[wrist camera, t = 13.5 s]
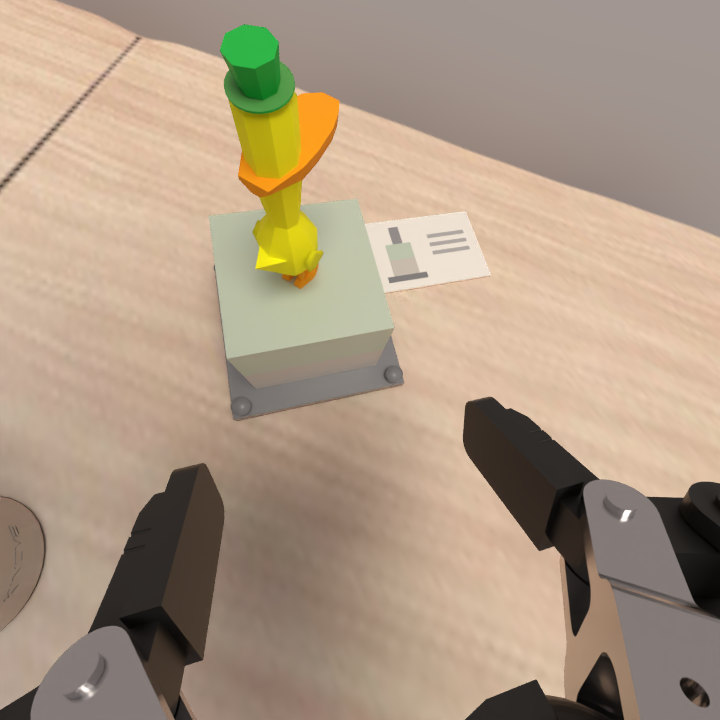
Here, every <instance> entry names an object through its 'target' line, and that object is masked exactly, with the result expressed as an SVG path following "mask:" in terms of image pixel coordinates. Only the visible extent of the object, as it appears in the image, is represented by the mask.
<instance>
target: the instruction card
mask: <svg viewBox="0 0 720 720" xmlns="http://www.w3.org/2000/svg"><path fill="white" fill-rule="evenodd" d="M365 227H366V230H367V234H368V237H369V241H370V244H371V248H372V251H373V255H374V258H375V262H376V265H377V269H378V272H379V276H380V279H381V282H382V286H383V289H384V293H385V294H386V293H392V292H398V291H404V290H410V289H416V288H422V287H428V286H434V285H440V284H446V283H452V282H458V281H464V280H470V279H476V278H482V277H489V276H491V273H490V271H489V268H488V266H487V263H486V261H485V258H484V256H483V253H482V251H481V248H480V246H479V243H478V241H477V238H476V236H475V233H474V231H473V228H472V226H471V223H470V221H469V218H468V216H467V213H466V211H462V212H454V213H446V214H439V215H431V216H423V217H415V218H407V219H400V220H392V221H384V222H376V223H368V224H365Z"/></svg>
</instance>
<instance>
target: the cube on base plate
mask: <svg viewBox="0 0 720 720" xmlns="http://www.w3.org/2000/svg"><path fill="white" fill-rule="evenodd" d="M300 211H302V212H304V213H305V214H306V216H307V217H308V218H309V219H310V220H311V222H312V223H313V224H314V225H315V226H316V228H317V238H318V250H322V251H323V255H322V257H321V259H320V261H319V265H318V270H317V273H316V276H315V277H314V278H313V279H312V280H311V281H310V282H309V283H308V284H306V285H305V286H304V287H303V288H302V289H300V288H298V287H296V286H295V285H294V282H295V280H296V278H297V276H298V275H297V276H294V277H293V278H292V279H291V280H290V281H287V280H285V279H283V278H282V275H283V274H281V273H276V272H271V271H265V270H258V269H255V267H256V262H257V257H258V252H259V245H258V243H257V241H256V239H255V237H254V235H253V233H252V231H253V229H254V227H255V225H256V222H257V220H260V221H261V219H262V218H263V217H264V216H265V215H266V212H265V210H264V209H263V210H254V211H246V212H237V213H228V214H220V215H211V216H209V222H210V230H211V238H212V246H213V254H214V262H215V265H214V271H215V275H216V283H217V291H218V299H219V307H220V315H221V323H222V331H223V339H224V347H225V355H226V363H227V371H228V379H229V387H230V395H231V403H232V404H231V409H232V412H233V419H234V420H236V421H239V420H244V419H248V418H253V417H258V416H262V415H267V414H271V413H276V412H281V411H285V410H290V409H295V408H299V407H304V406H308V405H313V404H318V403H322V402H327V401H332V400H336V399H341V398H346V397H350V396H355V395H359V394H364V393H369V392H373V391H378V390H383V389H387V388H392V387H396V386H401V385H402V384H403V383H404V380H403V377H402V376H403V372H402V370H401V368H400V366H399V362H398V359H397V355H396V352H395V348H394V345H393V341H392V337H391V334H392V332H393V330H394V324H393V321H392V317H391V314H390V310H389V307H388V303H387V300H386V296H385V293H384V289H383V286H382V282H381V279H380V276H379V272H378V269H377V265H376V262H375V258H374V255H373V251H372V248H371V244H370V241H369V237H368V234H367V230H366V227H365V223H364V220H363V216H362V213H361V209H360V206H359V202H358V199H351V200H342V201H333V202H324V203H316V204H307V205H301V206H300Z"/></svg>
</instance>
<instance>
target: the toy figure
mask: <svg viewBox="0 0 720 720" xmlns="http://www.w3.org/2000/svg"><path fill="white" fill-rule="evenodd" d="M220 52H221V54H222V56H223V58H224V60H225V62H226V64H227V66H228V68H229V71H228V72H227V74H226V77H225V79H224V89H225V93H226V95H227V97H228V99H229V103H230V107H231V111H232V114H233V118H234V122H235V125H236V129H237V133H238V137H239V140H240V144H241V148H242V154H241V161H240V167H239V173H238V177H239V180H240V181H241V182H242V183H243V184H244V185H245V186H246V187H247V188H248V189H249V190H250V191H251V192H252V193H253V194H255V195H257V196H258V197H259V198H260V200H261V203H262V205H263V207H264V210H265V212H266V215H265V216H264V217H263V218H262V219H261V221H260V220H257V222H256V225H255V227H254V229H253V231H252V233H253V235H254V237H255V239H256V241H257V243H258V245H259V252H258V257H257V262H256V267H255V269H258V270H265V271H271V272H276V273H281V274H283V275H282V278H283V279H285V280H287V281H290V280H291V279H292V278H293V277H294V276H297V275H298V276H297V278H296V280H295V282H294V285H295V286H296V287H298V288H300V289H302V288H303V287H304V286H305V285H306V284H308V283H309V282H310V281H311V280H312V279H313V278H314V277H315V276H316V273H317V270H318V265H319V261H320V259H321V257H322V255H323V251H322V250H318V238H317V228H316V226H315V225H314V224H313V223H312V222H311V220H310V219H309V218H308V217H307V216H306V214H305V213H304V212H302V211H300V206H301V188H302V180H303V179H304V178H305V176H306V175H307V174H308V173H309V172H310V171H311V170H312V168H313V167H314V166H315V165H316V164H317V163H318V161H319V159H320V158H321V156H322V155H323V153H324V152H325V150H326V149H327V147H328V146H329V144H330V143H331V141H332V139H333V136H334V133H335V130H336V127H337V121H338V113H339V100H337V99H335V98H333V97H331V96H329V95H327V94H325V93H323V92H322V93H305V94H301V95H299V96H297V94H296V93H295V92H294V90H295V81H294V77H293V74H292V73H291V71H290V69H289V68H288V67H287V66H286V65H285V64H283V63H281V62H280V61H279V43H278V41H277V40H276V39H275V37H274V36H273V35H272V34H271V33H270V32H269V30H268V29H267V28H264V27H258V26H252V25H245V24H244V25H242V26H240V27H238V28H236V29H234V30H232V31H230V32H227V33H225V36H224V39H223V42H222V45H221V49H220Z"/></svg>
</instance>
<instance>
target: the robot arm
mask: <svg viewBox="0 0 720 720" xmlns="http://www.w3.org/2000/svg"><path fill="white" fill-rule="evenodd" d="M463 443H464V447H465V450H466V452H467V454H468V456H469V458H470V459H471V460H472V462H473V463H474V464H475V466H476V467H477V468H478V470H479V471H480V472H481V474H482V475H483V476H484V478H485V479H486V480H487V482H488V483H489V485H490V486H491V487H492V489H493V490H494V491H495V493H496V494H497V495H498V497H499V498H500V499H501V501H502V502H503V503H504V505H505V506H506V507H507V509H508V510H509V511H510V513H511V514H512V515H513V517H514V518H515V519H516V521H517V522H518V523H519V525H520V526H521V527H522V529H523V530H524V531H525V533H526V534H527V536H528V537H529V538H530V540H531V541H532V542H533V544H534V545H535V546H536V548H537V549H538V550H539V551H541V550H544V549H547V548H550V547H553V546H555V548H556V549H557V550H558V551H559V553H560V554H561V557H560V572H561V583H562V594H563V605H564V616H565V627H566V639H567V648H566V658H565V668H564V687H565V698H560V697H555V696H550V695H545V694H544V693H543V691H542V689H541V687H540V685H539V683H538V681H537V680H533V681H531V682H528V683H526V684H523V685H521V686H518V687H516V688H513V689H511V690H508V691H506V692H504V693H501V694H499V695H496V696H494V697H491V698H489V699H486V700H485V701H484V702H483V703H482V704H481V705H480V706H479V707H478V708H477V709H476V710H475V711H474V712H473V713H472V714H471V715H469V716H468V717H467V718H466V719H465V720H720V484H719V483H714V482H698V483H695V484H693V485H692V486H691V487H690V488H689V490H688V492H687V493H686V495H685V497H684V498H670V497H645V496H644V495H643V494H642V493H640V492H639V491H637V490H635V489H634V488H632V487H630V486H627V485H625V484H622V483H620V482H616V481H612V480H600V479H599V478H597V477H596V476H595V475H594V474H593V473H591V472H590V471H589V470H588V469H587V468H586V467H585V466H583V465H582V464H581V463H580V462H579V461H578V460H577V459H575V458H574V457H573V456H572V455H571V454H570V453H569V452H567V451H566V450H565V449H564V448H563V447H562V446H561V445H559V444H558V443H557V442H556V441H555V440H552V439H551V437H550V436H549V435H548V434H547V433H546V432H544V431H543V430H542V431H541V429H540V427H539V426H538V425H536V424H535V423H534V422H533V421H532V420H531V419H530V418H528V417H527V416H525V415H523V414H521V413H519V412H517V411H515V410H513V409H511V408H510V409H505V408H504V407H503V406H502V405H501V404H500V403H499V402H498V401H497V400H495V399H494V398H493V397H486V398H481V399H477V400H473V401H469V402H467V403H466V406H465V416H464V430H463ZM223 525H224V506H223V501H222V498H221V496H220V494H219V492H218V489H217V487H216V485H215V483H214V480H213V478H212V476H211V474H210V472H209V469H208V467H207V466H206V464H204V463H201V464H197V465H193V466H188V467H184V468H180V469H176V470H174V471H173V472H172V474H171V476H170V479H169V481H168V484H167V487H166V490H165V492H162V493H158V494H155V495H154V496H153V497H152V498H151V499H150V501H149V502H148V503H147V504H146V506H145V507H144V508H143V509H142V510H141V512H140V513H139V515H138V517H137V520H136V522H135V525H134V527H133V529H132V532H131V537H129V539H128V541H127V544H126V546H125V548H124V554H123V555H121V558H120V560H119V562H118V565H117V567H116V570H115V572H114V574H113V577H112V579H111V581H110V584H109V586H108V589H107V591H106V593H105V596H104V598H103V600H102V603H101V605H100V608H99V610H98V612H97V615H96V617H95V619H94V622H93V624H92V626H91V628H90V630H89V632H88V634H87V635H86V636H84V637H82V638H81V639H80V640H78V641H77V642H76V643H74V644H73V645H72V646H71V647H70V648H69V649H68V650H66V651H65V652H64V653H63V655H62V656H61V657H60V658H59V659H58V660H57V661H56V662H55V664H54V665H53V666H52V667H51V669H50V670H49V671H48V673H47V674H46V676H45V677H44V679H43V681H42V683H41V684H40V685H39V686H38V687H36V688H35V689H33V690H32V691H30V692H29V693H27V694H25V695H24V696H22V697H21V698H19V699H17V700H16V701H14V702H12V703H11V704H9V705H8V706H6V707H4V708H3V709H1V710H0V720H197V719H196V718H195V716H194V714H193V712H192V710H191V708H190V706H189V704H188V702H187V700H186V698H185V697H184V695H183V693H182V691H181V690H180V688H181V683H182V678H183V672H184V667H185V666H186V665H189V664H192V663H195V662H198V661H201V660H203V657H204V650H205V643H206V637H207V630H208V624H209V617H210V610H211V604H212V597H213V591H214V584H215V577H216V571H217V564H218V558H219V551H220V544H221V538H222V531H223ZM43 558H44V540H43V534H42V531H41V528H40V525H39V523H38V521H37V520H36V518H35V517H34V515H33V514H32V512H31V511H29V510H28V509H27V508H26V507H25V506H23V505H22V504H21V503H18V502H16V501H14V500H12V499H9V498H4V497H0V631H1V630H2V629H3V628H4V627H5V626H6V625H7V624H8V623H9V622H10V621H11V620H13V619H14V618H15V617H16V615H17V614H18V613H19V611H20V610H21V609H22V607H23V606H24V605H25V603H26V602H27V601H28V599H29V597H30V595H31V593H32V592H33V590H34V588H35V586H36V584H37V581H38V578H39V575H40V572H41V569H42V565H43Z"/></svg>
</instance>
